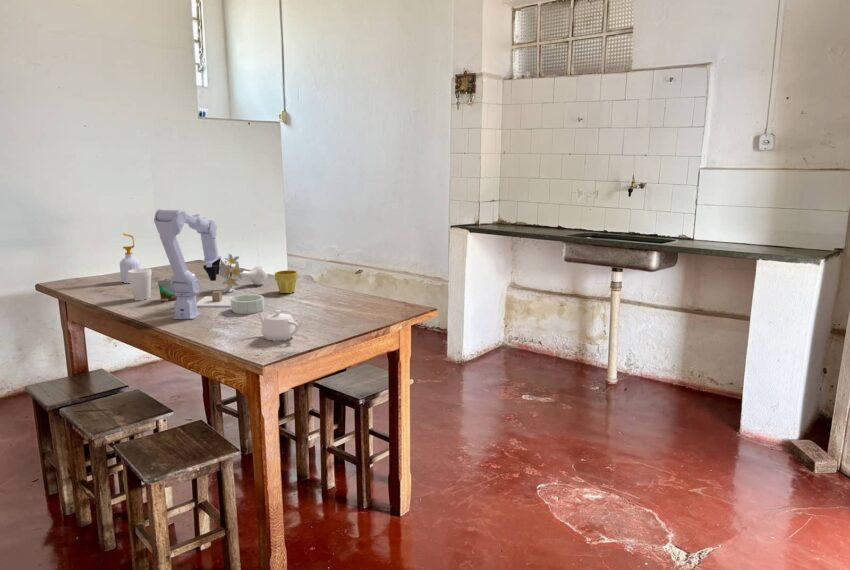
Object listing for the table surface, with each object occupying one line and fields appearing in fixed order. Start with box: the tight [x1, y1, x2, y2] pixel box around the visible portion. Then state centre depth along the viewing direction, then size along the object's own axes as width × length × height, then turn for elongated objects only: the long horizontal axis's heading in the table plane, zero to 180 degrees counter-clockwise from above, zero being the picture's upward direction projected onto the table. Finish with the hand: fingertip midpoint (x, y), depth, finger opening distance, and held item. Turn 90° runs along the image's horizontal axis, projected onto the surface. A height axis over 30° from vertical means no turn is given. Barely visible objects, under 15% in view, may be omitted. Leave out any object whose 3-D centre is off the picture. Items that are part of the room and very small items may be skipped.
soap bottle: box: [119, 232, 141, 284], centre depth 309 cm, size 9×9×25 cm
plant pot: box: [274, 269, 298, 294], centre depth 289 cm, size 10×10×10 cm
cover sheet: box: [196, 290, 236, 308], centre depth 270 cm, size 16×16×5 cm
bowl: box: [230, 293, 266, 315], centre depth 257 cm, size 13×13×6 cm
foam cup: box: [128, 268, 153, 301], centre depth 276 cm, size 10×9×13 cm
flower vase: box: [219, 253, 269, 293], centre depth 297 cm, size 13×18×25 cm
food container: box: [157, 278, 177, 303], centre depth 274 cm, size 12×6×10 cm, turn 168°
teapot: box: [257, 309, 300, 341], centre depth 221 cm, size 20×12×10 cm, turn 58°
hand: (214, 277), depth 268 cm, fingers open, 7 cm apart
